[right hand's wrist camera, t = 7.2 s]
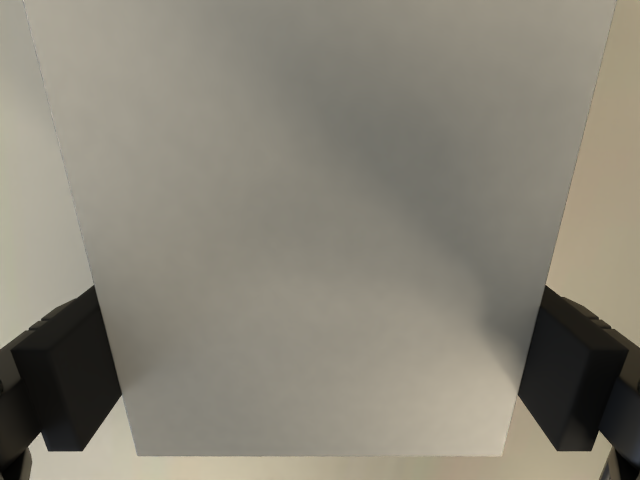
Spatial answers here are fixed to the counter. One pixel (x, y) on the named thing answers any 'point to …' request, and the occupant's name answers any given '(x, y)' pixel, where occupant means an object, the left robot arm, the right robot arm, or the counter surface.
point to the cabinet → (319, 209)
